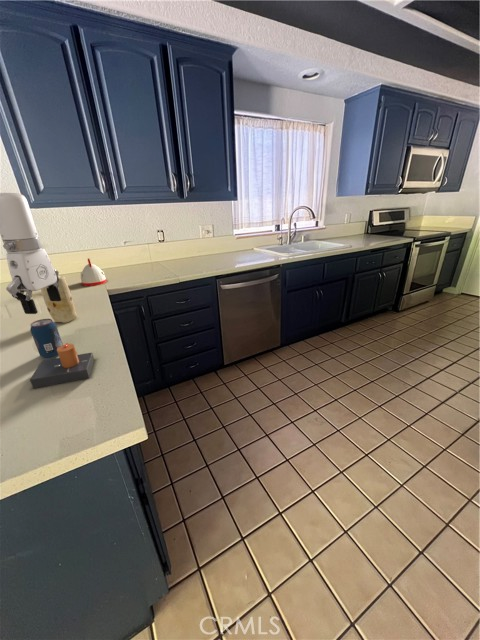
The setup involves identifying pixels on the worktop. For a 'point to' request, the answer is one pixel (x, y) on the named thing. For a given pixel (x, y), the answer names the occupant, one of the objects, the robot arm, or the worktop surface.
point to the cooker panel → (61, 371)
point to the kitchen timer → (92, 275)
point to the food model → (60, 303)
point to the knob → (68, 355)
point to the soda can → (46, 337)
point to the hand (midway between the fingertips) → (44, 306)
